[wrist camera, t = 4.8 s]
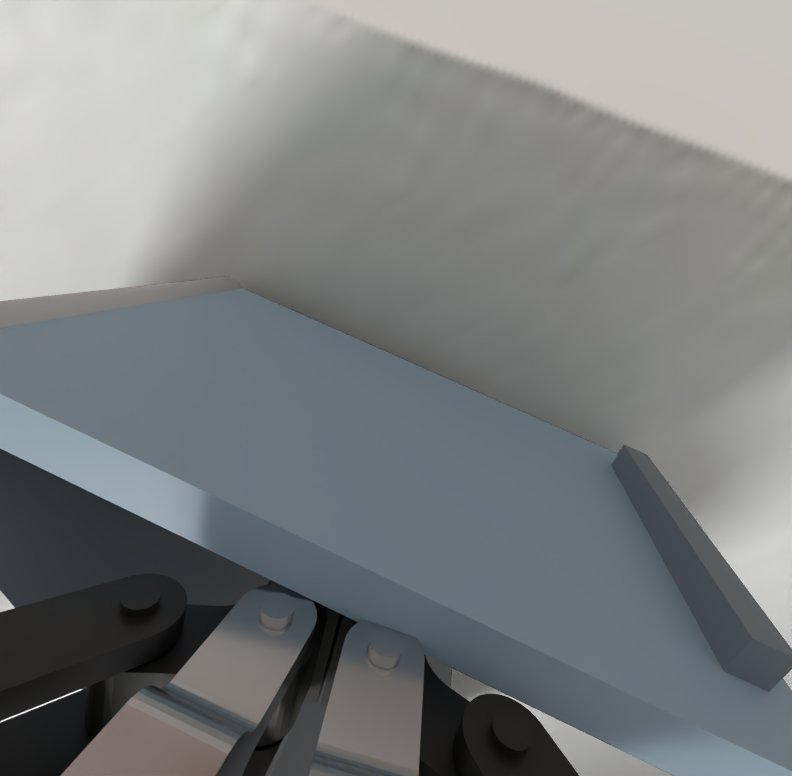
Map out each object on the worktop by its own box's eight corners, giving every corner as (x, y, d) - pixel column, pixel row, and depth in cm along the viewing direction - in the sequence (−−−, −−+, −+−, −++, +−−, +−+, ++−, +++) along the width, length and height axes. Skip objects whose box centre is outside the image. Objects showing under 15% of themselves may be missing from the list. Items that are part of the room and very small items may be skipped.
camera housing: (483, 709, 23) (472, 1249, 10) (321, 752, 26) (168, 1207, 14) (212, 297, 19) (-273, 384, 7) (64, 404, 22) (-451, 592, 10)
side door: (650, 444, 16) (914, 775, 6) (619, 489, 17) (813, 855, 7) (219, 255, 18) (-168, 268, 7) (207, 304, 18) (-162, 379, 8)
